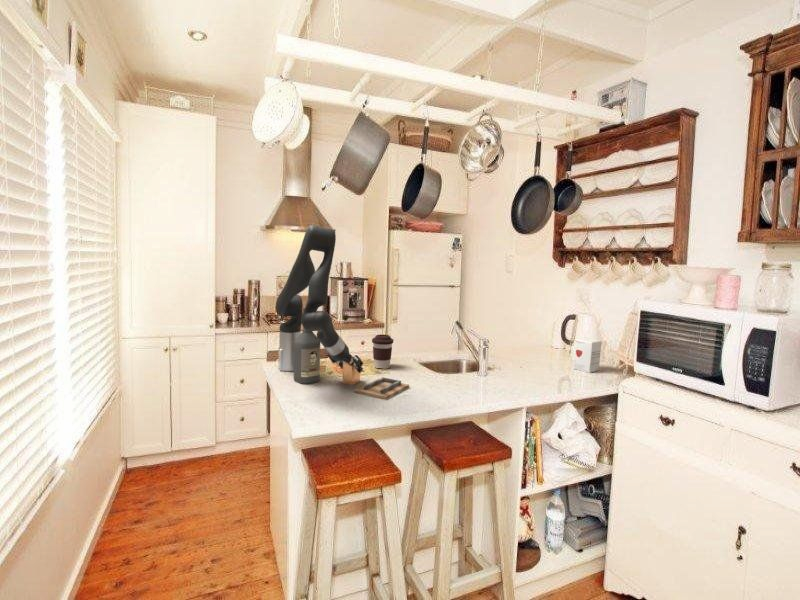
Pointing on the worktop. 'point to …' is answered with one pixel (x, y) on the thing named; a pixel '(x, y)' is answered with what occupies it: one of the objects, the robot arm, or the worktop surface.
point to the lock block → (350, 374)
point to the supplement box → (587, 355)
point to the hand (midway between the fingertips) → (352, 369)
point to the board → (382, 388)
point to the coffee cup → (382, 350)
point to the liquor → (306, 358)
